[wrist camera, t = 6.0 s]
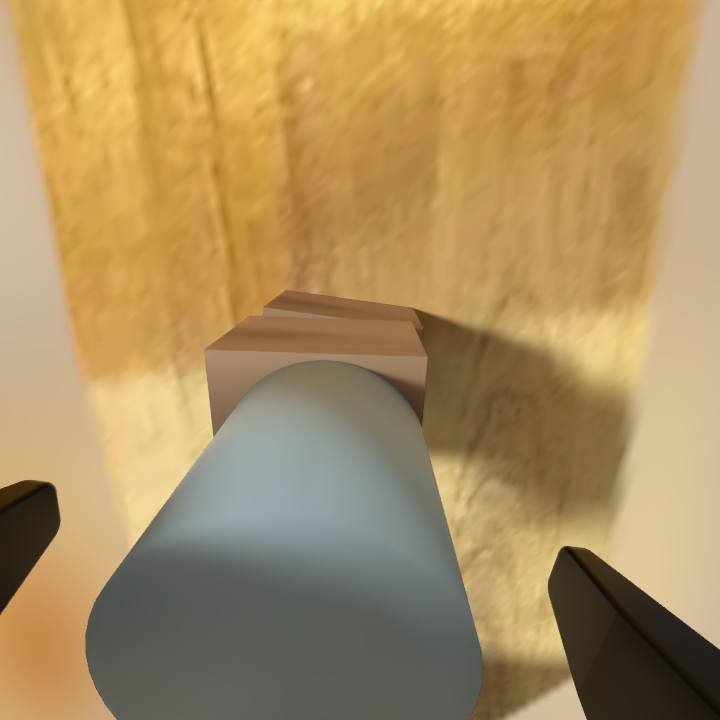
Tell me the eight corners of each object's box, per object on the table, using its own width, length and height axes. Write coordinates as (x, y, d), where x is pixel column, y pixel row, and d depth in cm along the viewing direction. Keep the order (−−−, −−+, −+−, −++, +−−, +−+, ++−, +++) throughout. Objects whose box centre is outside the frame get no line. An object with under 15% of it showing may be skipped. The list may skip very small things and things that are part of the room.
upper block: (401, 461, 14) (411, 536, 10) (258, 456, 14) (223, 529, 10) (411, 321, 12) (427, 356, 9) (249, 316, 12) (204, 350, 9)
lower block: (392, 419, 17) (397, 466, 14) (278, 404, 17) (255, 448, 14) (412, 307, 15) (423, 329, 12) (286, 289, 15) (263, 307, 12)
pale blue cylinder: (403, 543, 10) (434, 811, 6) (223, 518, 10) (98, 771, 5) (444, 377, 9) (534, 554, 4) (232, 344, 9) (67, 488, 4)
